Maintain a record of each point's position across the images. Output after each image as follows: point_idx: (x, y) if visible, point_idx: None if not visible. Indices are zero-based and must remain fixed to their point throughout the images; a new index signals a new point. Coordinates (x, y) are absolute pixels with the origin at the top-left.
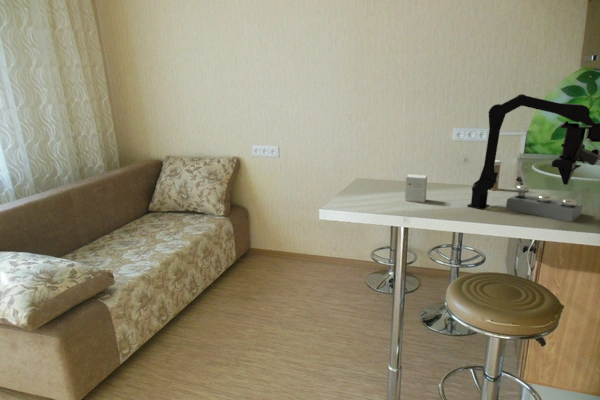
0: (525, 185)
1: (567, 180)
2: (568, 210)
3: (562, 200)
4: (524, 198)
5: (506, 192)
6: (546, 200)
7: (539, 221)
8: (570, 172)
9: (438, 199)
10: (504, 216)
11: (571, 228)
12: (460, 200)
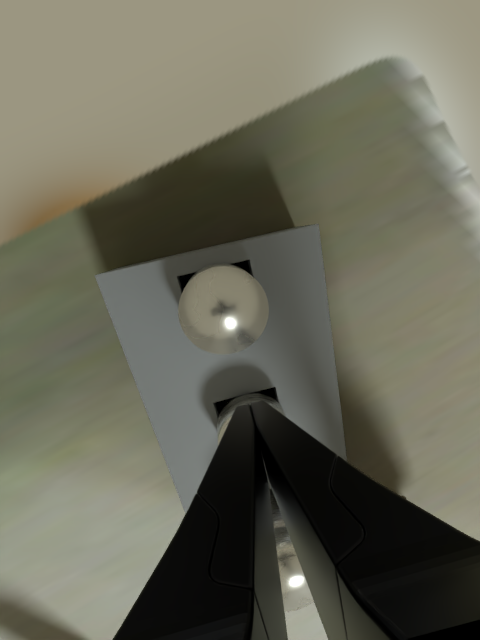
0: None
1: (295, 429)
2: (320, 248)
3: (257, 337)
4: (271, 496)
5: (88, 621)
6: (278, 406)
7: (398, 310)
8: (448, 528)
9: None
10: (430, 417)
11: (399, 168)
12: None
